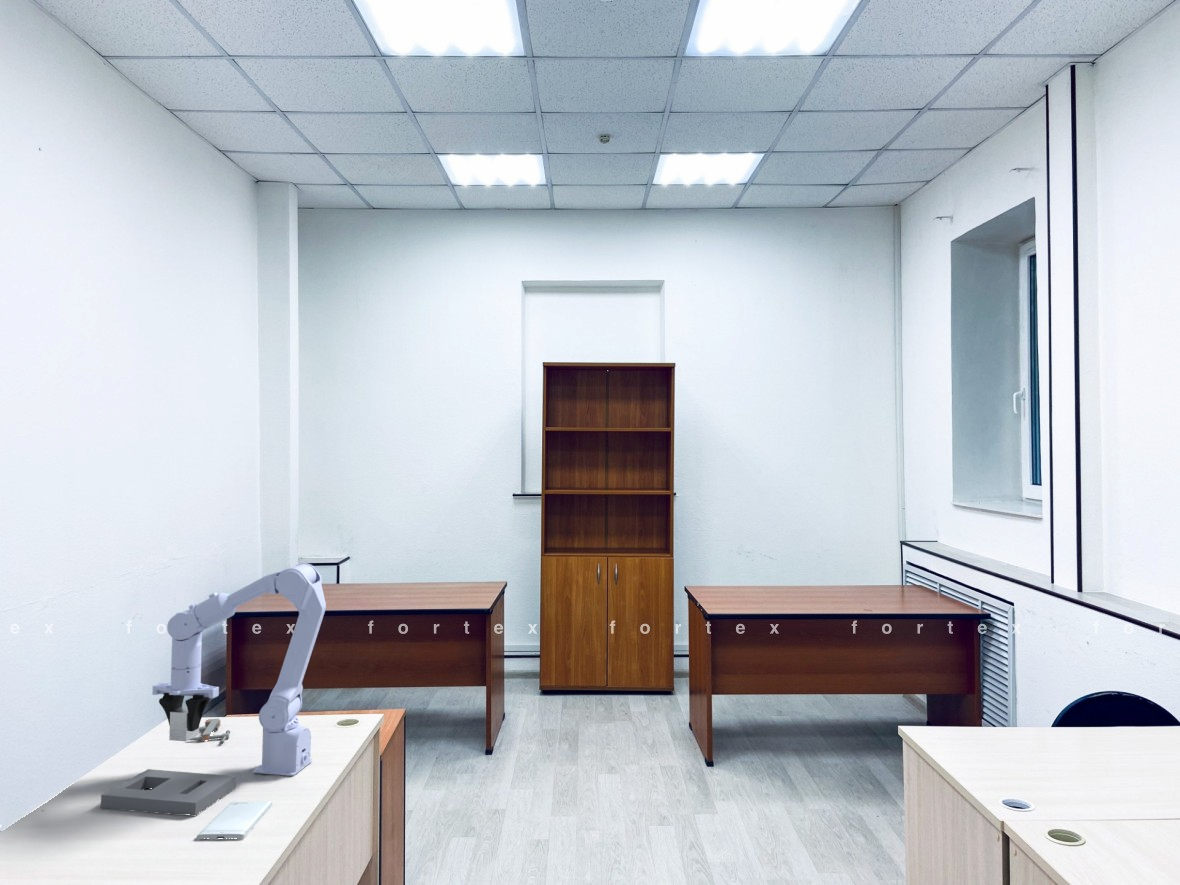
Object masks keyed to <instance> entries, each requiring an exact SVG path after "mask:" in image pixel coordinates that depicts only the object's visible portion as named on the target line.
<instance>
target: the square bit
mask: <svg viewBox="0 0 1180 885" xmlns="http://www.w3.org/2000/svg"><path fill="white" fill-rule="evenodd" d="M199 735H200V731H199V728H198V729H196V730H194V731H190V730H189V714H188V709H187V705H182V707H180V708H178V709H176V710H173V711H171V712H170V726H169V741H175V742H177V741H178V742H188V740H189V741H191V740H190V739H192V738H194V737H198V736H199Z"/></svg>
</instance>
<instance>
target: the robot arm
mask: <svg viewBox="0 0 1180 885" xmlns="http://www.w3.org/2000/svg"><path fill="white" fill-rule="evenodd" d="M322 578H323V577H322V575H321V574H320V573H319V572H318V570H317V569H316V567H315V566H313V564H310V563H307V562H301V563H298V564H296V565H295V566H292V567H290V566H289V567H287V568H285V569H281V570H278V571H274V572H272V573H269V574H267V575H265V576H263V577H261V578H259V579H257V580H256V581H253V582H252V583H250V584H248V585H246V586H244V587H242V588H240V589H238V590H236V591H234V592H232V593H227V592H220V593H218V592H217V591H216V592H214V593H213V592H212V593H211V594H209V595H208V599H205V600H203V601H202V602H199V603H198V604H196V603H193V604H191V605H189V606H188V608H189V609H186V610H183V611H181V612H177V613H175V614H174V615H172V617H171V618H169V620H168V622H167V627H166V628H167V629H166V630H167V633H168V634H169V636H170V637H171V638H172V639H171V656H170V657H171V662H170V664H171V665H170V666H171V667H170V683H164V682H163V683H156V684H154V685H152V694H151V695H154V696H157V695H162V697H161V698H159V699H158V704H159V705H160V706H161V707H162V709H163V711H164V713H165V715H166V719H167V721H168V726H169V727H170V712H171V711H173V710H176V709H178V708H180V707H182V706H183V703H184V702H185V706H187V709H188V714H189V730H190V731H194V730H196V729H198V728H199V727H200V724H201V721H202V717H203V714H204V713H205V710H206V708H207V705H208V704H209V702H210V700H212V699H215V698H217V697H219V696H220V695H219V694H220V691H219V690H220V687H219V686H213V685H209V684H204V683H201V682H202V679H201V678H202V650H203V648H202V646H203V645H202V644H203V642H202V641H203V640H202V637H203V636H202V635H203V632H204V631H205V630H207V629H209V628H211V627H213V626H215V625H217V624H219V623H221V622H223V621H225V620H227V619H229V618H231V617H233V616H234V615H235V613H236V611H237V609H238V607H239V606H242V605H244V604H246V603H248V602H250V601H252V600H254V599H256V598H258V597H261V596H262V595H265V594H271V595H278V594H280V595H282V596H283V598H285V599H286V600H288V601H289V602H290V603H291V604H293V605H294V607H295V608H296V610H297V611H298V617H297V619H296V620H297V621H296V624H295V626H294V630H293V633H292V636H291V638H290V641H289V642H290V643H289V645H288V648H287V651H286V654H285V657H284V660H283V663H282V666H281V669H280V672H279V676H278V679H277V682H276V684H275V686H274V687H273V689H272V691H271V693H270V695H269V698H268V700H267V702H266V703H265V704H263V706H262V707H261V709H260V711H259V713H258V722H259V723H260V725H261V726H262V743H261V744H262V746H261V747H262V749H261V752H262V753H261V764H260V765H259V766H258V767H256V768H254V769H253V770H252V773H253V774H265V775H277V776H289V777H291V776H292V777H293V776H295V775H296V774H298V773H299V772H300V771H302V770H303V769H304V768H306V767H307V766H308V765H309V764H310V763H312V762H313V759H311V749H312V748H311V746H312V744H311V743H312V735H311V730H310V728H308V727H304V726H302V725H300V724H299V723H300V722H299V718H298V714H299V713H300V712H301V709H302V707H303V698H302V693H303V689H304V687H303V686H304V685H303V680H304V677H305V674H306V671H307V668H308V665H309V662H310V658H311V656H312V652H313V650H314V647H315V644H316V640H317V638H318V634H319V631H320V628H321V624H322V622H323V618H324V615H325V612H326V609H327V603H326V599H325V593H324V590H323V585H322V582H323V581H322V580H323V579H322ZM185 696H186V697H187V696H188V697H191V698H188V699H186V700H185V701H184V698H185Z"/></svg>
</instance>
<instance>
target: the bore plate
mask: <svg viewBox="0 0 1180 885" xmlns="http://www.w3.org/2000/svg"><path fill="white" fill-rule="evenodd" d="M236 783H237V776H236V775H228V774H226V775H225V774H215V773H213V774H212V773H200V772H188V771H176V770H175V771H174V770H161V769H152V768H147V769H146V770H144V771H141V772H140V773H139V774H136V775H135V776H133V777H132V778H130V779H128V780H126V781H124V782H122V783H120V784H118V785H117V786H115V787H113V788H111V789H109V790H107V791H106V792H104V793H102V794H101V795H100V809H105V808H111V809H110V810H117V809H119V811H128V810H135V811H134V812H140V811H147V812H146V813H151V812H158V813H157V814H162V813H170V814H169V815H174V814H190V815H197V814H198V813H199V812H201V811H202V812H204V811H205V810H207V809H208V808H209V806H210V805H211V804H213V803H214V804H215V803H217V802H218V801H219V800H218V799H220V798H221V799H223V798H224V797H226V796H227V795H228V794H230V793H231V792H233V791H234V790H235V789H234V788H236V786H237V784H236ZM145 788H152V789H145ZM143 789H144V790H143ZM233 789H234V790H233ZM232 790H233V791H232ZM230 791H231V792H230ZM229 792H230V793H229ZM227 793H228V794H227ZM226 794H227V795H226ZM223 796H224V797H223ZM222 797H223V798H222ZM221 799H220V800H221ZM217 800H218V801H217ZM216 801H217V802H216ZM214 804H213V805H214ZM211 806H212V805H211ZM211 806H210V807H211ZM207 807H208V808H207ZM206 808H207V809H206ZM204 809H205V810H204ZM203 810H204V811H203ZM202 812H201V813H202ZM198 815H199V814H198ZM198 815H197V816H198Z"/></svg>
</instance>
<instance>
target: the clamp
mask: <svg viewBox="0 0 1180 885" xmlns="http://www.w3.org/2000/svg"><path fill="white" fill-rule="evenodd" d="M207 719H208V720H207ZM207 719H206V720H205V721H204V726H199V732H203V733H202V735H201V736H196V737H194V738H192V739H190V740H188V741H203V740H204V741H205V740H209V739H210V740H216V739H218V738H219V739H221V740H220V741H219V744H220V745H223V743H224V744H225V740H227V739H226V738H228V739H229V738H230V733H231V731H230V730H226V731H225V732H224V733H222V734H217V735H216V734H215V735H214V734H213V736H210V734H211V732H213V731H215V730H216V731H218V730H219V727H221V719H220V718H207ZM216 731H215V732H216ZM188 741H187V742H188Z"/></svg>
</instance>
